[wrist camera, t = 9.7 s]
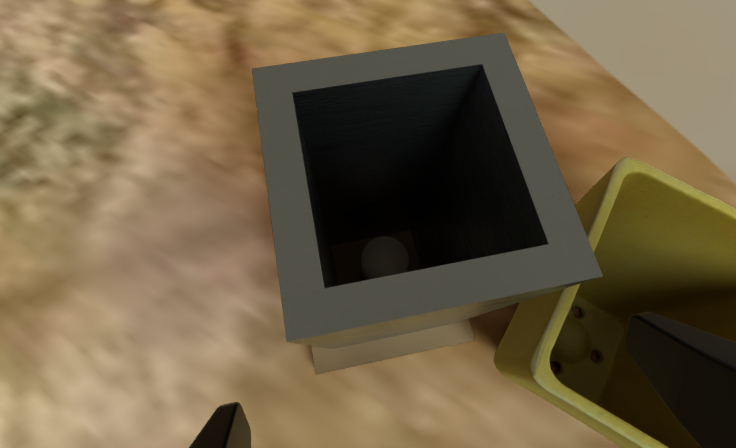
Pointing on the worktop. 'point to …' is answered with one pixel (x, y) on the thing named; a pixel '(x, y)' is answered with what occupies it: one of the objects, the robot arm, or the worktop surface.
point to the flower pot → (628, 303)
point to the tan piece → (377, 262)
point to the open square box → (413, 188)
